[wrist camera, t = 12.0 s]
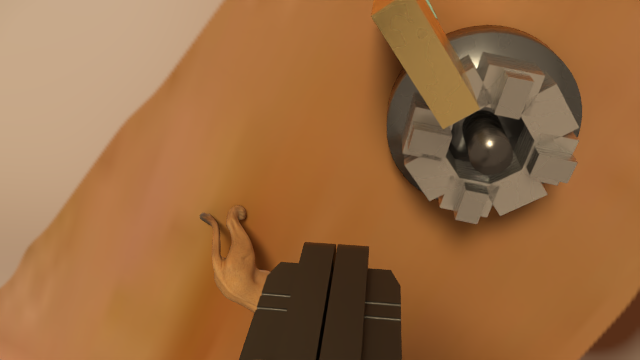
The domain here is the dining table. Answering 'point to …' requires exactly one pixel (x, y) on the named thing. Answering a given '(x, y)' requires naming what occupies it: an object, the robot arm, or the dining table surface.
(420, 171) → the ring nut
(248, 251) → the lion figurine
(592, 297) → the dining table surface
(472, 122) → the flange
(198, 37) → the dining table surface
